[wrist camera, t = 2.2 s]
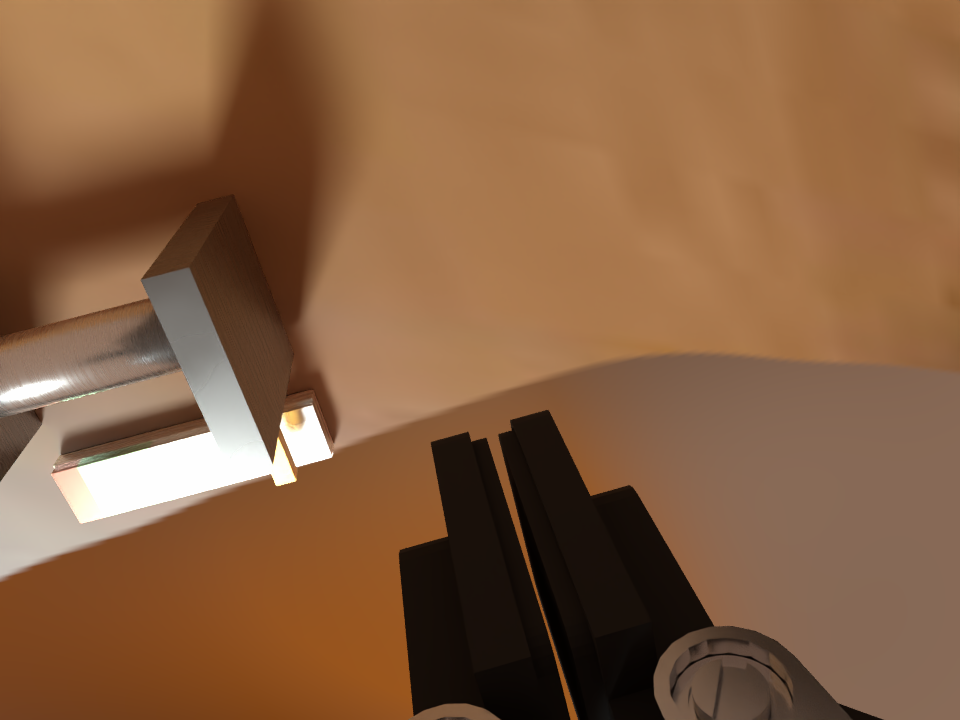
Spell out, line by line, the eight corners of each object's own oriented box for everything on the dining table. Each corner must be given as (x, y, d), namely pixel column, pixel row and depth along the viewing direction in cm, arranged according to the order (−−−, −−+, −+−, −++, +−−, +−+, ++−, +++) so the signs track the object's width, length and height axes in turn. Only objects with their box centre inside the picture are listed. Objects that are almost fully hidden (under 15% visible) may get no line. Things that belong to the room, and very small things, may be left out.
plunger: (233, 194, 21) (189, 267, 15) (327, 443, 25) (317, 570, 19) (-166, 296, 21) (-353, 406, 15) (-9, 531, 24) (-113, 685, 19)
